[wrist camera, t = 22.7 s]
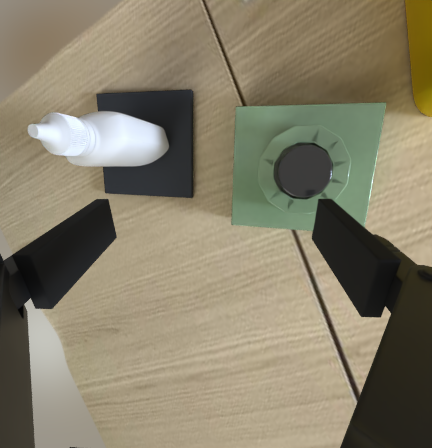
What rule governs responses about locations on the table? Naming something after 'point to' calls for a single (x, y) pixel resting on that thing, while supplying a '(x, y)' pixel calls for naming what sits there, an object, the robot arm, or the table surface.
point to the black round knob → (305, 171)
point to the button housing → (297, 136)
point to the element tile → (420, 51)
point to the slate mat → (177, 138)
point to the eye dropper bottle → (101, 138)
